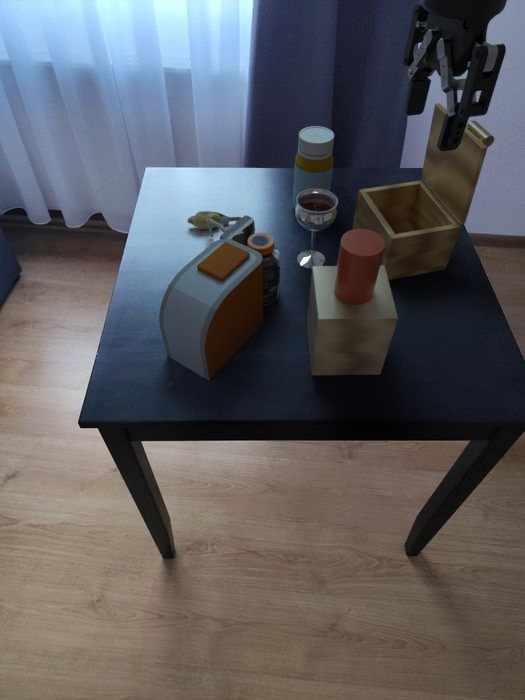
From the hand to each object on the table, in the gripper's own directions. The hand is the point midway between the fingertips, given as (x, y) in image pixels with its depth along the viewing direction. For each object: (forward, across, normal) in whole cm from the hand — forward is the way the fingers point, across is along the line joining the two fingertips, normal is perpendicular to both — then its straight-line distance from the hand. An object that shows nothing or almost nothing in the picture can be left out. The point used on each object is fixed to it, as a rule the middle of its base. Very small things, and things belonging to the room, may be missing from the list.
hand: (428, 130), depth 53 cm
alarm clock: (+30, +1, +26) cm, 40 cm away
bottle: (+30, +30, +3) cm, 42 cm away
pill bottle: (+30, +9, +18) cm, 36 cm away
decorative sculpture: (+30, +24, +21) cm, 43 cm away
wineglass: (+30, +15, +7) cm, 34 cm away
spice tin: (+18, -6, +8) cm, 20 cm away
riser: (+30, -5, +8) cm, 31 cm away
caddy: (+30, +14, -9) cm, 34 cm away
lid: (+14, +14, -14) cm, 24 cm away
